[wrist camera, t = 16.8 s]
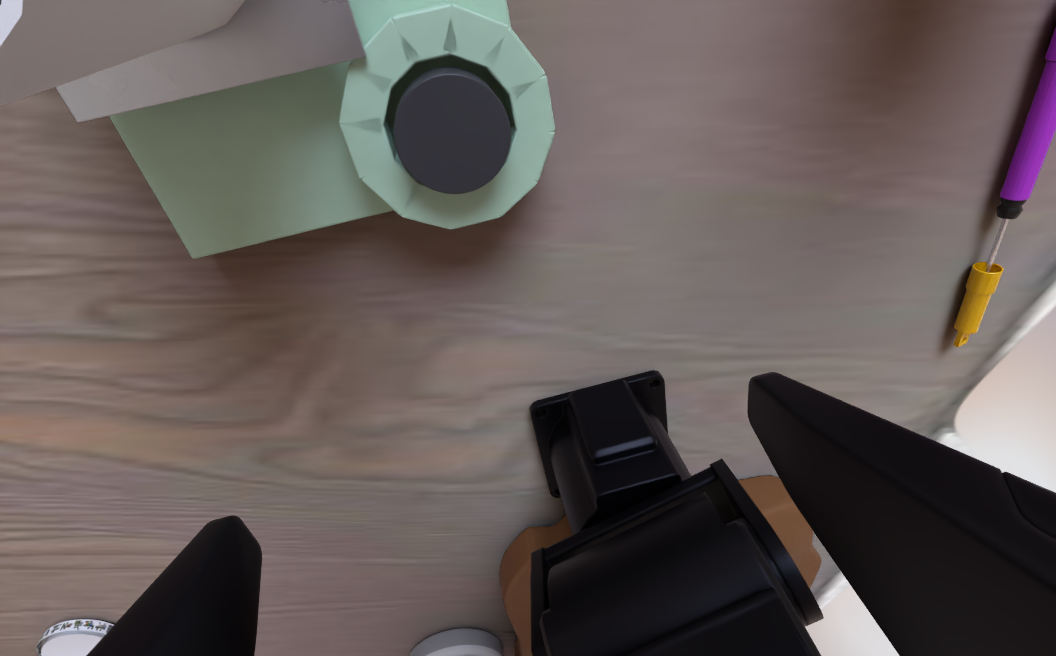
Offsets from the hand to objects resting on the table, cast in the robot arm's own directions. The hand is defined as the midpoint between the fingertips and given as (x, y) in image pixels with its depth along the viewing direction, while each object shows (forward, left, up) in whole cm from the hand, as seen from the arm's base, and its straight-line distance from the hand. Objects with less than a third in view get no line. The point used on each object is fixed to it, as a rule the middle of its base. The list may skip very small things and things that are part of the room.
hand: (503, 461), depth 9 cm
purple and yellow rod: (-5, -24, -13) cm, 28 cm away
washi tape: (-18, +25, -13) cm, 33 cm away
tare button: (+3, 0, -10) cm, 11 cm away
